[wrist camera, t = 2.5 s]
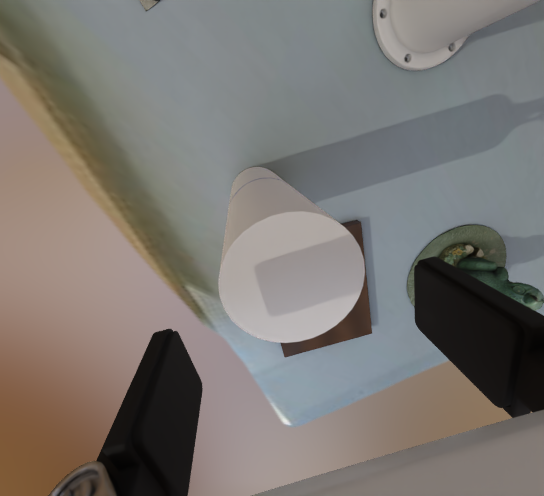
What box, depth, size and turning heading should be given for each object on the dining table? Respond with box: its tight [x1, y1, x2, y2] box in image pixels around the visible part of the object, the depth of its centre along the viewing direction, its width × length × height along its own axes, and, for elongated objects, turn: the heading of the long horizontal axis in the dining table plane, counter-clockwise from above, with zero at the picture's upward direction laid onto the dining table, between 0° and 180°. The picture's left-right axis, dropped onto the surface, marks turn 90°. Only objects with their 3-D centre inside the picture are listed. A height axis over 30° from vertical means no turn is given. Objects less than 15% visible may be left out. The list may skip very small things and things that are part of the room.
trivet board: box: [281, 220, 372, 357], centre depth 42 cm, size 16×21×2 cm
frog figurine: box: [407, 225, 544, 311], centre depth 39 cm, size 18×18×12 cm
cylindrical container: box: [218, 167, 365, 343], centre depth 24 cm, size 7×7×25 cm
